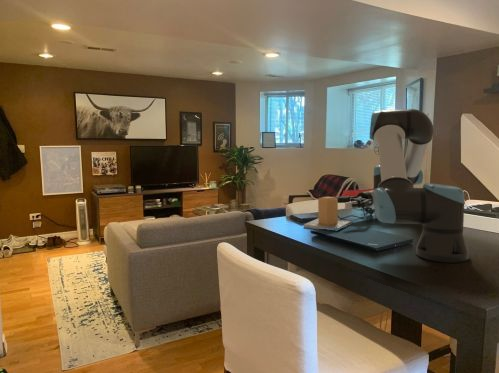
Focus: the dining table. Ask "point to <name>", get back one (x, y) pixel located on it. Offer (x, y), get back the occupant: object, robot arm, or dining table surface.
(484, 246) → the dining table surface
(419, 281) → the dining table surface
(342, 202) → the robot arm
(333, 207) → the wooden block
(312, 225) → the plate
